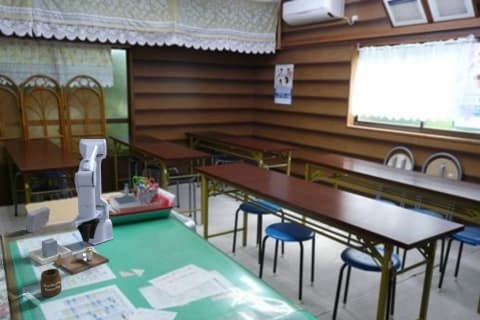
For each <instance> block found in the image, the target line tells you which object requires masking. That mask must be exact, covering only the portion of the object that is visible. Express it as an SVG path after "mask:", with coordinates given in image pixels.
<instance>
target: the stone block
mask: <svg viewBox="0 0 480 320" xmlns="http://www.w3.org/2000/svg"><path fill="white" fill-rule="evenodd" d="M50 214H51V209H50V207H47V206H41V207H40V208H38V209H35V210H30V211H29V212H28V213H27V215H25V217H26V218H25V227H26V228H25V229H26V231H27V232H28V233H33V232H36V231H38V230H39V229H41V228H43V227H44V226H45V225H46V224H48V222H49V220H50Z"/></svg>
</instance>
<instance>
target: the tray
mask: <svg viewBox="0 0 480 320" xmlns="http://www.w3.org/2000/svg"><path fill="white" fill-rule="evenodd" d="M57 249H58V255H55V256H52V257H49V258H46V257H44V256H43V255H42V247H41V248H38V249H35V250H31V251H29V252H28V258H30V259H31V260H33V261H34V262H36V263H39V264H40V266H46V265H48V264H52V263H54V261H55V260H58V256H59V254H60V255H61V258H64V257H67V256H70V255H73V252H72V250H70V249H69V248H67V247H65V246H63V245H61V244H59V243H57ZM61 258H60V259H61ZM43 261H44V262H45V263H44V262H43ZM40 262H42V263H40ZM43 264H44V265H43Z"/></svg>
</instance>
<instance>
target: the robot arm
mask: <svg viewBox="0 0 480 320" xmlns="http://www.w3.org/2000/svg"><path fill="white" fill-rule="evenodd" d="M79 153H80V155H81V157H82V158H83V159H81V161H80V162H79V168H78V171H77V172H75V174H74V183H75V191H76V193H77V206H78V209H77V210H78V214H77V215H76V218H74V219H73V220H72V221H70V226H71V228H77V231H78V232H79V235H80V236H81V240H82V242H85V243H89V244H91V245H93V246H96V245H98V244H102V243H104V242H108V241H111V240H114V236H113V223H112V220H111V218H109V216H110V210H109V209H110V208H109V202H108V200H106V199H105V198H103V197H102V171H101V166H102V165H101V164H102V161H103V159H106V158H107V157H106V156H107V140H106V139H105V138H101V139H97V138H95V139H94V138H93V139H92V138H89V139H87V138H86V139H84V138H81V139H80V140H79ZM95 205H97V206H95Z"/></svg>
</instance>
